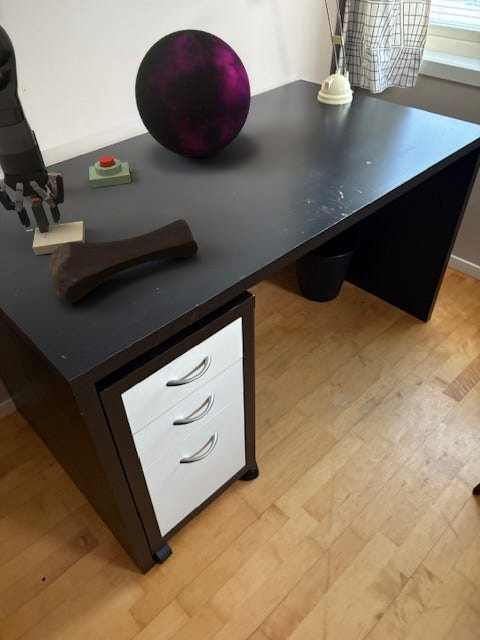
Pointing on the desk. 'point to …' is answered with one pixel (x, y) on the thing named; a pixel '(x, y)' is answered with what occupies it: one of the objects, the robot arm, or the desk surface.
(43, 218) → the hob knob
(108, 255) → the dark brown bone
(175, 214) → the desk surface
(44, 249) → the cream flat slab
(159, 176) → the desk surface
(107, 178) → the box
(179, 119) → the mottled black-purple ball
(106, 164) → the red push button
